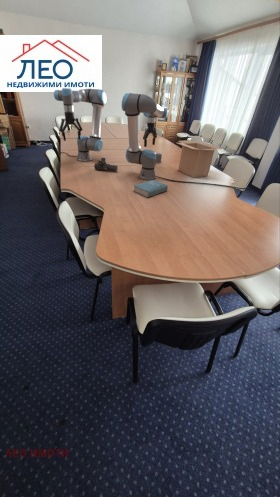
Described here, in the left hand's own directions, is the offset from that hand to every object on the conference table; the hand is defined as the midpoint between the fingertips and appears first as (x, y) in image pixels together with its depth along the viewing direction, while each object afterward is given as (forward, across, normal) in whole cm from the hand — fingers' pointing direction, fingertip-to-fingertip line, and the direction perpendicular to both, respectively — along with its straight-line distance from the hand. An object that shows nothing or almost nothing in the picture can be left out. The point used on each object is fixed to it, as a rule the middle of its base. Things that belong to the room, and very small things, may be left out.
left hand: (72, 140), depth 192 cm
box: (+27, -99, +61) cm, 119 cm away
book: (+27, -28, +75) cm, 84 cm away
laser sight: (+27, -25, +12) cm, 39 cm away
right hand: (+8, -76, +17) cm, 78 cm away
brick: (+27, -93, +14) cm, 98 cm away
